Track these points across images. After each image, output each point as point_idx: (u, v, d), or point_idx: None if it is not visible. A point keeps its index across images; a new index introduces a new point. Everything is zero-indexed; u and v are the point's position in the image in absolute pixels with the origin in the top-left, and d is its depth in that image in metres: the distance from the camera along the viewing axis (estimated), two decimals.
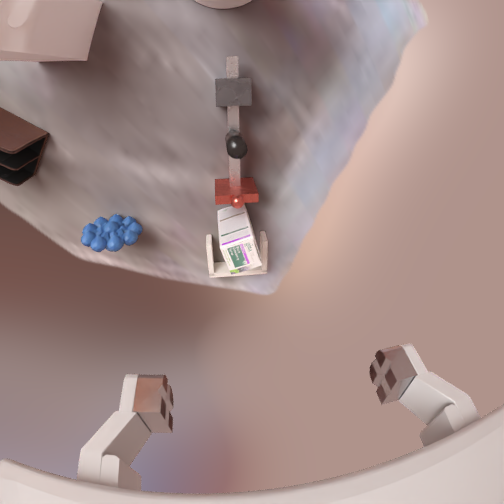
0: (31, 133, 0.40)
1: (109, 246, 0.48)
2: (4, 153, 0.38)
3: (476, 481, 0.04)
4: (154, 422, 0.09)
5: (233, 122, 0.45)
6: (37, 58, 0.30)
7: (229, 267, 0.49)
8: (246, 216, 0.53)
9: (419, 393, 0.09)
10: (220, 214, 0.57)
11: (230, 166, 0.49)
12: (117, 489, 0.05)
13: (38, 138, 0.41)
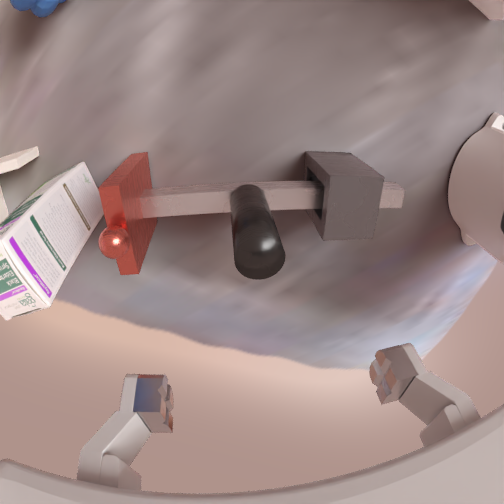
0: None
1: None
2: None
3: (476, 481, 0.04)
4: (154, 422, 0.09)
5: (283, 199, 0.23)
6: None
7: None
8: (83, 242, 0.22)
9: (419, 393, 0.09)
10: (77, 173, 0.23)
11: (184, 196, 0.22)
12: (117, 489, 0.05)
13: None
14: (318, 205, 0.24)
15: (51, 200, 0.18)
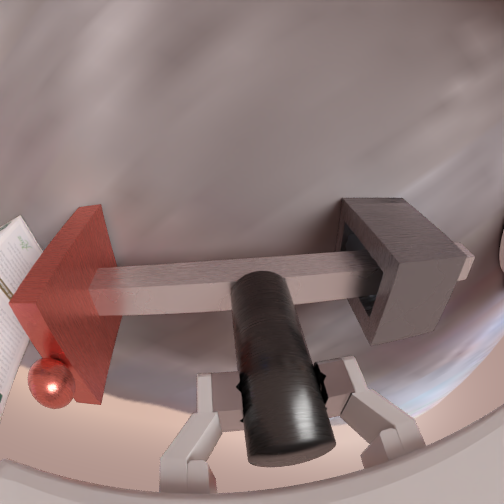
0: None
1: None
2: None
3: (476, 481, 0.04)
4: (230, 421, 0.09)
5: (315, 288, 0.15)
6: None
7: None
8: (24, 346, 0.13)
9: (358, 411, 0.09)
10: (8, 239, 0.14)
11: (157, 289, 0.14)
12: (117, 489, 0.05)
13: None
14: (366, 291, 0.15)
15: None
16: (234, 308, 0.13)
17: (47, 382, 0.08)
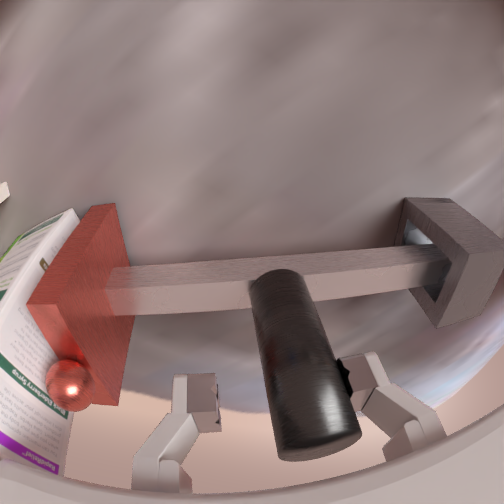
0: None
1: None
2: None
3: (476, 481, 0.04)
4: (206, 422, 0.09)
5: (331, 286, 0.15)
6: None
7: None
8: None
9: (381, 405, 0.09)
10: (62, 233, 0.14)
11: (176, 288, 0.14)
12: (117, 489, 0.05)
13: None
14: (379, 288, 0.15)
15: (22, 301, 0.10)
16: (255, 306, 0.13)
17: (67, 385, 0.09)
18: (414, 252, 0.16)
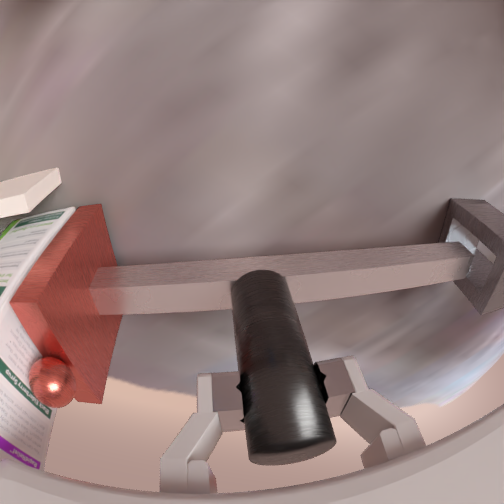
0: None
1: None
2: None
3: (476, 481, 0.04)
4: (230, 421, 0.09)
5: (315, 287, 0.15)
6: None
7: None
8: None
9: (358, 411, 0.09)
10: None
11: (157, 288, 0.14)
12: (117, 489, 0.05)
13: None
14: (366, 290, 0.15)
15: None
16: (234, 307, 0.13)
17: (48, 381, 0.09)
18: (403, 253, 0.16)
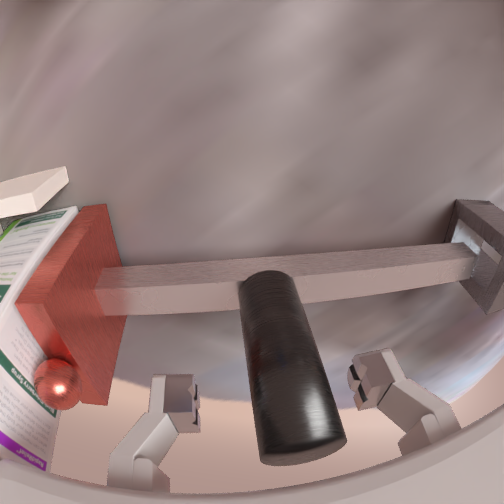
0: None
1: None
2: None
3: (476, 481, 0.04)
4: (183, 423, 0.09)
5: (322, 288, 0.15)
6: None
7: None
8: None
9: (397, 400, 0.09)
10: None
11: (164, 289, 0.14)
12: (117, 489, 0.05)
13: None
14: (372, 290, 0.15)
15: None
16: (242, 307, 0.13)
17: (54, 383, 0.08)
18: (408, 253, 0.16)
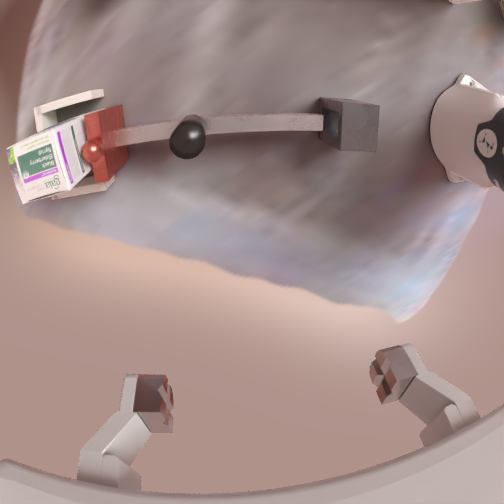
0: None
1: None
2: None
3: (476, 481, 0.04)
4: (154, 422, 0.09)
5: (219, 125, 0.29)
6: None
7: (17, 146, 0.18)
8: None
9: (419, 393, 0.09)
10: None
11: (146, 126, 0.28)
12: (117, 489, 0.05)
13: None
14: (248, 128, 0.29)
15: (84, 123, 0.24)
16: None
17: (93, 142, 0.23)
18: (271, 113, 0.30)
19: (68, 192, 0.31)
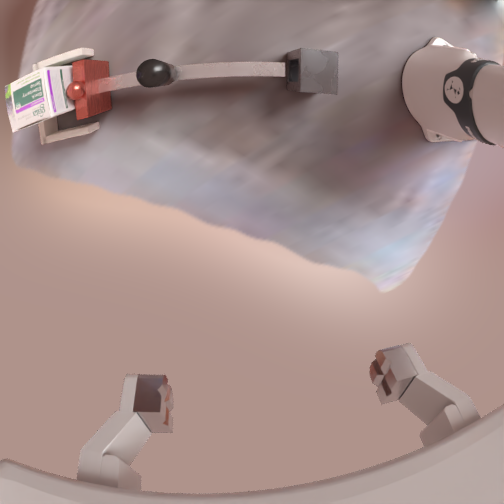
0: None
1: None
2: None
3: (476, 481, 0.04)
4: (154, 422, 0.09)
5: (188, 71, 0.29)
6: None
7: (14, 83, 0.18)
8: None
9: (419, 393, 0.09)
10: None
11: (125, 75, 0.28)
12: (117, 489, 0.05)
13: None
14: (214, 74, 0.30)
15: (72, 70, 0.24)
16: None
17: (76, 82, 0.23)
18: None
19: (56, 137, 0.31)
